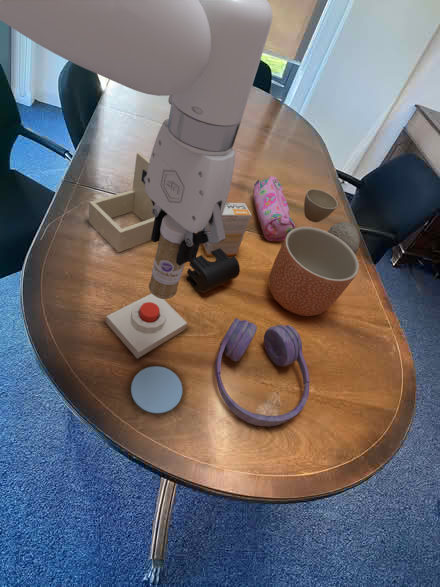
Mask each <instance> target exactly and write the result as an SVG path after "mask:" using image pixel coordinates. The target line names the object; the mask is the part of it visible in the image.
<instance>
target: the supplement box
mask: <svg viewBox="0 0 440 587" xmlns="http://www.w3.org/2000/svg"><path fill="white" fill-rule="evenodd" d="M251 218H252V213H251V212H250V210H249V208H248V206H247V204H246V203H245V202H226V205H225V208H224V211H223V214H222V222H223V227H224V232H225V237H226V238H225V240H224V241H222V242H219V243H204V244H201V245H202V248H203V250H204V252H205V255H206V256H207V257H215V256H214V255H213V254H212V253H211V251H214V250H216V249H219V248H220V249H221V250H222V251H223V252H224V253H225V254H226V255H227V256H237V253H238V251H239V249H240V246H241V244H242V241H243V239H244V236H245V233H246V231H247V228H248V226H249V223H250V220H251ZM207 231H210V228H209V223H207Z"/></svg>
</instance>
